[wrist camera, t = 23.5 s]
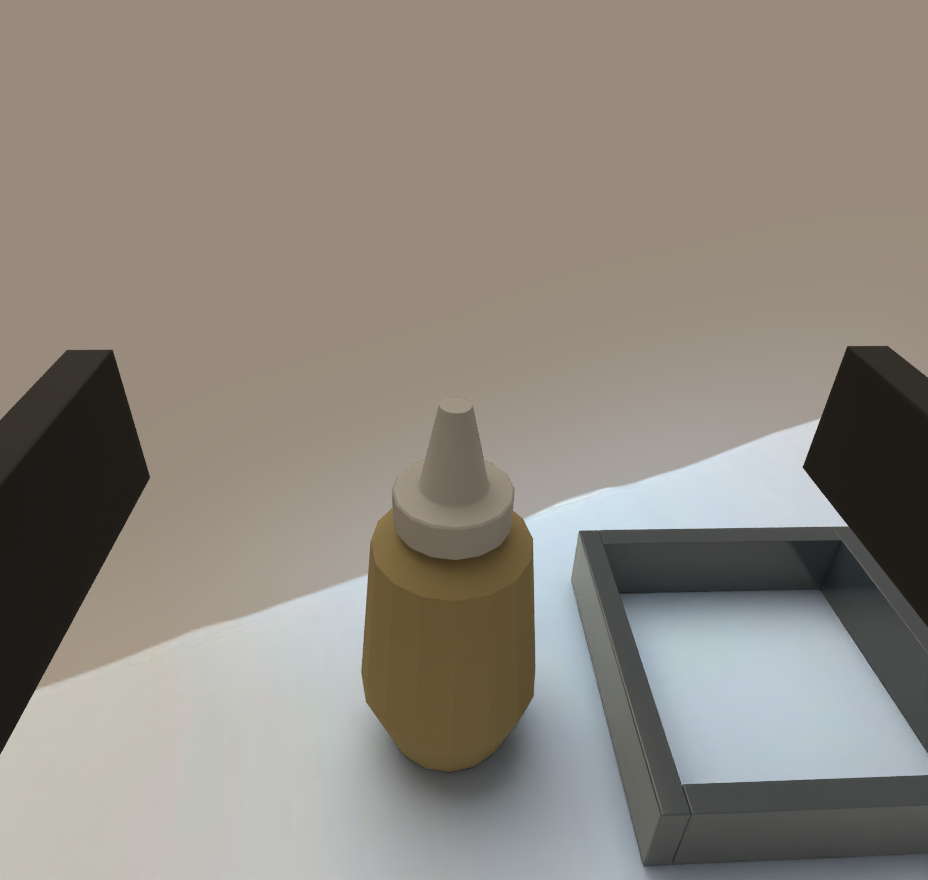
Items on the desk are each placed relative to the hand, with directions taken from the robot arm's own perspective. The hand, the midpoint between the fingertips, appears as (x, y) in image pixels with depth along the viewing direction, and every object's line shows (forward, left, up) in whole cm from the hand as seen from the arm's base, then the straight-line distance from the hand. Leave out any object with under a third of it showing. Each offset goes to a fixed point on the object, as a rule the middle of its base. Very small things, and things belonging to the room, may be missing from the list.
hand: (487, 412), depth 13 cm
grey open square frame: (-16, -11, -24) cm, 30 cm away
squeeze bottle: (0, -10, -24) cm, 26 cm away
